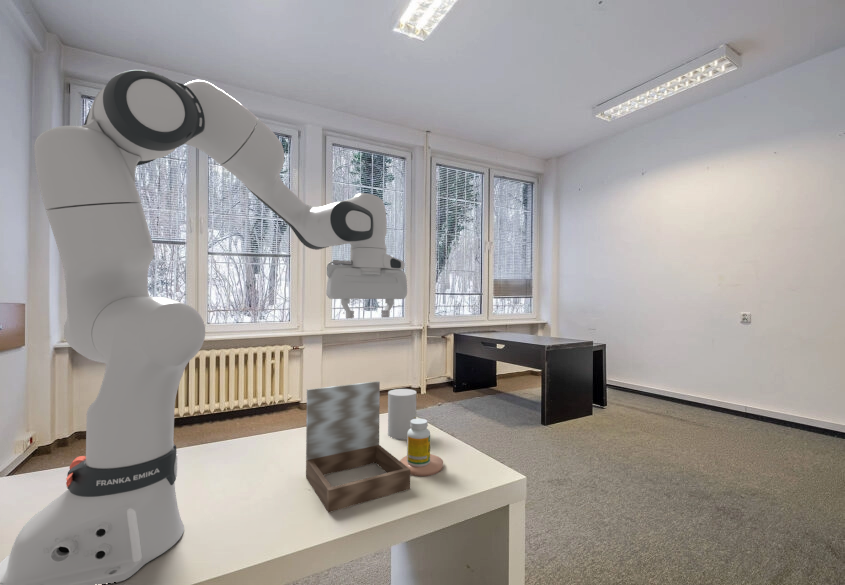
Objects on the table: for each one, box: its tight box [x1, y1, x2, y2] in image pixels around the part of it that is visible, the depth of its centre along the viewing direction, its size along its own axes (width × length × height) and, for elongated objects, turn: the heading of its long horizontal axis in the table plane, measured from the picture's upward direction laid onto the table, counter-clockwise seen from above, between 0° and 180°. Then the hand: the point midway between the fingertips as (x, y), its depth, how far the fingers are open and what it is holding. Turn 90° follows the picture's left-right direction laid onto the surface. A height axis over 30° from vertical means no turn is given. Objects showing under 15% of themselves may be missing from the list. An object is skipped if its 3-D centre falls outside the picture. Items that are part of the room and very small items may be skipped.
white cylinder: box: [387, 388, 417, 440], centre depth 110 cm, size 8×8×12 cm
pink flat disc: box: [399, 453, 444, 477], centre depth 89 cm, size 10×10×1 cm
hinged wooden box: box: [305, 380, 411, 513], centre depth 81 cm, size 17×16×19 cm
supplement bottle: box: [406, 418, 431, 467], centre depth 89 cm, size 5×5×10 cm
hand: (368, 317), depth 94 cm, fingers open, 8 cm apart
